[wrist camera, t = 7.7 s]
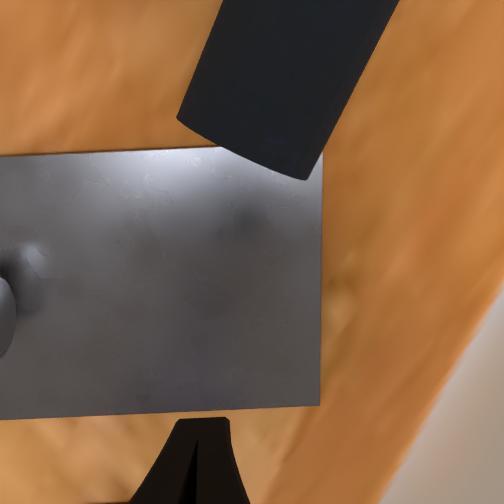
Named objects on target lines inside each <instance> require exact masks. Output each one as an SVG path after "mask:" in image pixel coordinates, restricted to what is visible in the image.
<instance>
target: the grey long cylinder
mask: <svg viewBox="0 0 504 504" xmlns="http://www.w3.org/2000/svg"><path fill="white" fill-rule="evenodd" d="M15 327H16V305H15V299H14V295H13V293H12V290H11V288H10V286H9V284H8V283H7V282H6V281H5V280H4V279H3V278H2V277H0V359H1V358H2V357H3V356H4V355H5V354H6V352H7V351H8V349H9V347H10V345H11V343H12V340H13V337H14V332H15Z"/></svg>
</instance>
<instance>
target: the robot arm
mask: <svg viewBox="0 0 504 504" xmlns="http://www.w3.org/2000/svg"><path fill="white" fill-rule="evenodd" d="M128 504H250V501H249V499H248V496H247V494H246V491H245V488H244V486H243V483H242V480H241V477H240V474H239V471H238V467H237V464H236V461H235V457H234V453H233V449H232V444H231V433H230V420H229V419H227V418H226V417H210V418H189V419H179V420H178V421H177V422H176V423H175V426H174V428H173V430H172V432H171V434H170V436H169V438H168V440H167V442H166V443H165V445H164V447H163V449H162V451H161V452H160V454H159V456H158V458H157V459H156V461H155V463H154V464H153V466H152V468H151V469H150V471H149V472H148V474H147V476H146V477H145V479H144V481H143V482H142V484H141V485H140V487H139V488H138V490H137V491H136V493H135V494H134V495H133V497H132V498H131V500H130V501H129V503H128Z"/></svg>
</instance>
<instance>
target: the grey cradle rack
mask: <svg viewBox="0 0 504 504" xmlns="http://www.w3.org/2000/svg"><path fill="white" fill-rule="evenodd" d="M322 164H323V151H322V153H321V155H320V157H319V159H318V161H317V163H316V164H315V166H314V168H313V170H312V172H311V174H310V176H309V178H308V180H306V181H304V180H299V179H295V178H292V177H289V176H286V175H283V174H280V173H278V172H275V171H273V170H270V169H268V168H266V167H263V166H261V165H259V164H256V163H254V162H252V161H250V160H248V159H245V158H243V157H241V156H239V155H237V154H235V153H233V152H231V151H229V150H227V149H225V148H223V147H221V146H219V145H217V146H195V147H174V148H152V149H131V150H109V151H88V152H67V153H45V154H24V155H2V156H0V277H2V278H3V279H4V280H5V281H6V282H7V283H8V284H9V286H10V288H11V290H12V293H13V295H14V299H15V305H16V327H15V332H14V337H13V340H12V343H11V345H10V347H9V349H8V351H7V352H6V354H5V355H4V356H3V357H2V358H1V359H0V420H15V419H37V418H59V417H81V416H103V415H125V414H147V413H169V412H190V411H212V410H234V409H256V408H278V407H300V406H320V344H321V254H322Z"/></svg>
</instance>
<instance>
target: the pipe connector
mask: <svg viewBox="0 0 504 504" xmlns="http://www.w3.org/2000/svg"><path fill="white" fill-rule="evenodd" d="M398 2H399V0H223V2H222V5H221V7H220V10H219V12H218V15H217V17H216V20H215V22H214V25H213V27H212V30H211V32H210V35H209V37H208V40H207V42H206V45H205V47H204V50H203V52H202V55H201V57H200V60H199V62H198V64H197V67H196V69H195V72H194V74H193V77H192V79H191V82H190V84H189V87H188V89H187V92H186V94H185V97H184V99H183V102H182V104H181V107H180V109H179V112H178V114H177V117H176V118H177V119H178V120H179V121H180V122H181V123H182V124H184V125H185V126H186V127H188V128H189V129H191V130H193V131H194V132H196V133H198V134H199V135H201V136H203V137H204V138H206V139H208V140H210V141H212V142H213V143H215V144H217V145H219V146H221V147H223V148H225V149H227V150H229V151H231V152H233V153H235V154H237V155H239V156H241V157H243V158H245V159H248V160H250V161H252V162H254V163H256V164H259V165H261V166H263V167H266V168H268V169H270V170H273V171H275V172H278V173H280V174H283V175H286V176H289V177H292V178H295V179H299V180H304V181H306V180H308V178H309V176H310V174H311V172H312V170H313V168H314V166H315V164H316V163H317V161H318V159H319V157H320V155H321V153H322V151H323V149H324V147H325V145H326V143H327V141H328V139H329V137H330V135H331V133H332V131H333V129H334V127H335V125H336V123H337V121H338V119H339V117H340V116H341V114H342V112H343V110H344V108H345V106H346V104H347V102H348V100H349V98H350V96H351V94H352V92H353V90H354V88H355V86H356V84H357V82H358V80H359V78H360V76H361V74H362V72H363V70H364V69H365V67H366V65H367V63H368V61H369V59H370V57H371V55H372V53H373V51H374V49H375V47H376V45H377V43H378V41H379V39H380V37H381V35H382V33H383V31H384V29H385V27H386V25H387V23H388V22H389V20H390V18H391V16H392V14H393V12H394V10H395V8H396V6H397V4H398Z"/></svg>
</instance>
